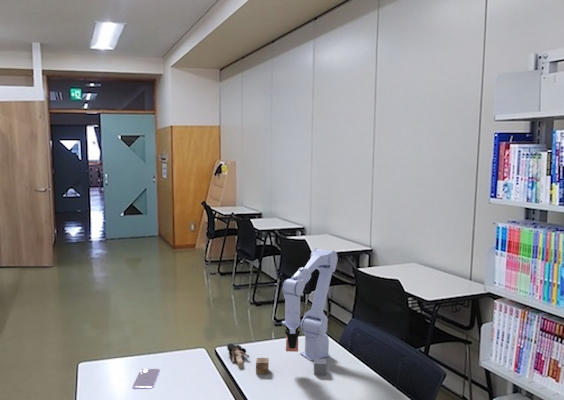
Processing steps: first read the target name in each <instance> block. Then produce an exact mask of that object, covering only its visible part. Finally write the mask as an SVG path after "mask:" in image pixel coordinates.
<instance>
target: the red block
mask: <svg viewBox="0 0 564 400" xmlns="http://www.w3.org/2000/svg"><path fill="white" fill-rule="evenodd" d="M285 335H286V334H285ZM285 338H286V339H285V343H286V345H285V346H286V347H285V351H286V352H291V353H292V352H299V337H298V338H297V342H296V347H295V348H289V343H288V338H287V335H286V336H285Z"/></svg>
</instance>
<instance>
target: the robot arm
mask: <svg viewBox="0 0 564 400" xmlns="http://www.w3.org/2000/svg"><path fill="white" fill-rule="evenodd" d="M338 259H339V258H338V253H337V251H336V250H329V249H321V248H316V247H315V248H314V249H313V250H312V251H311V253H310V259H308V261H307V263H306V265H305V266H304V267H299V268H298V270H297V271H296V272H295V273H294V274H293V275H292V276H291V278H287V279H285V280H284V281H283V283H282V288H281V290H282V293H283V298H284V299H285V300H284V302H285V303H284V304H285V305H284V307H285V309H284V315H285V316H284V320H281V325H284V327H285V328H286V329H284V333H285V335H287V338H288V343H289V348H295V347H296V342H297V338H298V339H299V336H300V334H301V331H302V332H303V335H304V351H302V352H300V355H301V356H303V357H304V358H306V359H308V360H309V361H314V359H325V358H326V357H330V353H329V351H330V350H329V349H330V348H329V347H330V346H329V344H330V341H329V337H328V334H327V332H328V321H329V319H328V317H327V316H326V314H325V312H324V310H325V306H326V302H327V297H328V292H329V288H330V284H331V279H332V275H333V273H334V272H336V268H337V264H338ZM315 270H318V272H319V275H318V278H317V282H316V286H315V287H316V288H315V291H314V295H313V299H312V300H313V301H312V304H311V309H309V310H308V311H306V312H304V315H303V318H302V319H301V295H303V292H304V289H305V287H306V284H307V283H309V281H310V279H311V278H312V273H313V272H314V271H315ZM299 329H300V330H299Z"/></svg>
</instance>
